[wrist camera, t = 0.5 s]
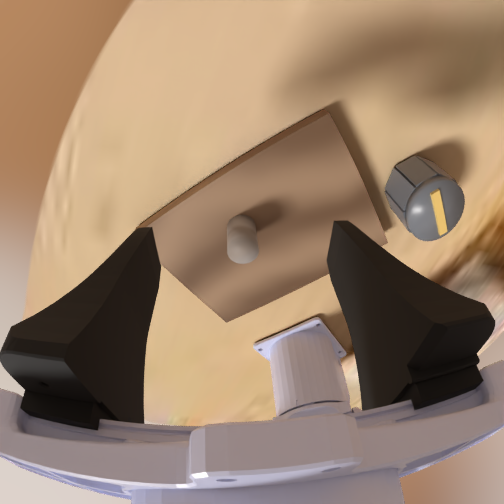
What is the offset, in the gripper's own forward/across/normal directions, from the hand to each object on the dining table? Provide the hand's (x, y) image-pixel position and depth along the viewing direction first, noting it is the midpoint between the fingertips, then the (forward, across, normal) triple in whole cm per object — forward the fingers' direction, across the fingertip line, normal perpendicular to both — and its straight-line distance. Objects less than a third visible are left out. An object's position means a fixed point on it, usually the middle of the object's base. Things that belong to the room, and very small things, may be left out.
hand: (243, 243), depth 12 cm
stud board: (+10, -2, +6) cm, 11 cm away
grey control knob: (+10, -14, +2) cm, 17 cm away
